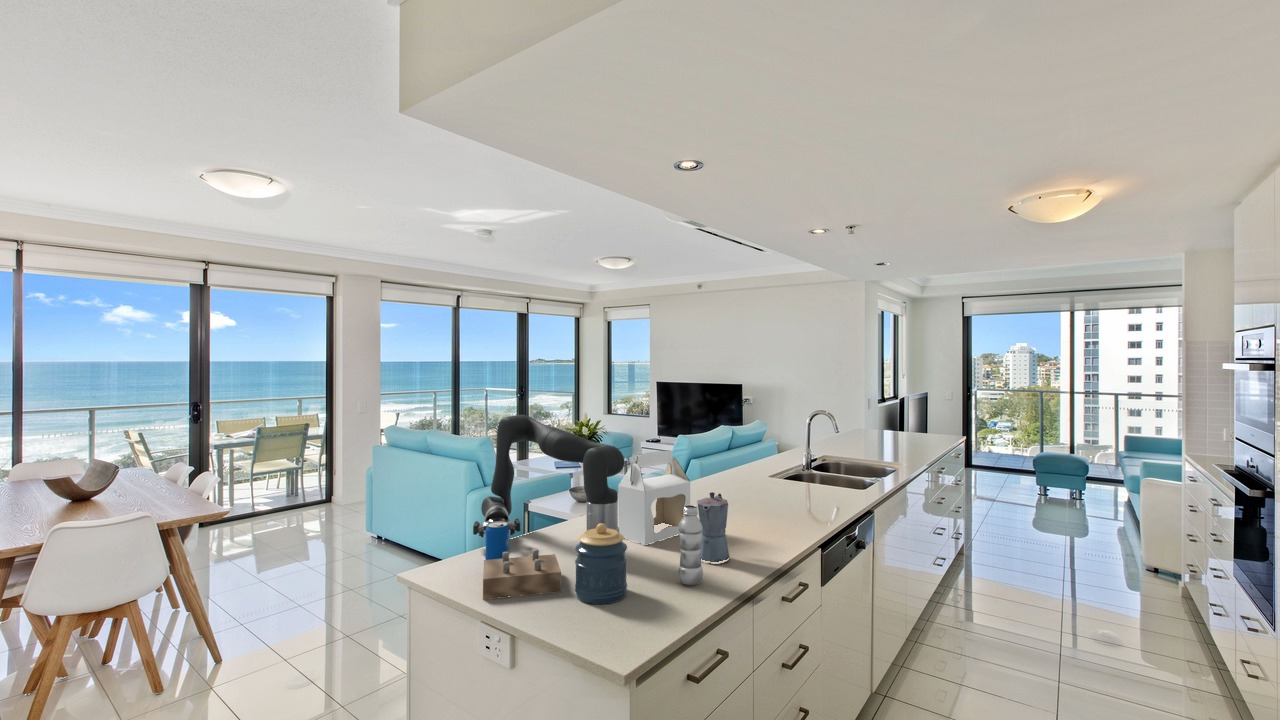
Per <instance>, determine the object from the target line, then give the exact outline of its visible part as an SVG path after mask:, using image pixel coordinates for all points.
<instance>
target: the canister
mask: <svg viewBox="0 0 1280 720" xmlns="http://www.w3.org/2000/svg"><path fill="white" fill-rule="evenodd" d="M624 540H625V539H624V536H623V535H622V534H620V533H618V531H616V530H614V529H609V528H606V525H605V524H603V523H599V524H598V525H597V526H596V529H590V530H587V529H586V530H585V531H584V533H582V534H580V535H579V536H578V541H579V543H577V544H576V545H575V548H574V549H575V551H576V553H577V554H576V558H575V560H574V562H575V585H574V591H575V596H576V598H577V599H578V600H579V601H582V602H583V603H587V604H593V605H594V604H595V605H605V604H606V605H607V604H612V603H616V602H619V601H621V600H622V599H624V598H625V597H626V595H627V590H628V583H627V562H628V558H627V557H626V551H627V550H628V546H627V544H626V543H625V542H624Z"/></svg>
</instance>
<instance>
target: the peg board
mask: <svg viewBox="0 0 1280 720" xmlns="http://www.w3.org/2000/svg"><path fill="white" fill-rule="evenodd" d="M539 551H540V549H532V555H529V556H518V557H517V556H515V557H510V551H509V552H503V559H491V560H485V559H483V573H482V574H483V575H482V600H483V599H485V600H491V599H490V598H495V599H499V598H498V597H505V598H509V597H508V596H515V597H521V596H520V595H525V596H534V595H533V594H535V595H541V594H540V593H545V594H552V593H553V592H555V593H561V592H562V571H561V568H560V564H559V561H558V558H557V556H556V554H554V553H553V554H541V555H539V553H540V552H539Z"/></svg>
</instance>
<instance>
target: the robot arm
mask: <svg viewBox="0 0 1280 720" xmlns="http://www.w3.org/2000/svg"><path fill="white" fill-rule="evenodd" d="M521 442H531V443H535V444H537V445H538V447H539V450H540V451H541V453H543V454H545V455H547V456H548V457H550V458H553V459H556V460H557V461H563V462H569V463H581V464H582V476H583V489H584V493H585V496H586V531H587V530H590V529H596V526H597V525H598V524H599V523H603V524H605V525H606V528H609V529H614V530H616V531H618V533H619V527H618V491H617V490H616V489H614V488H610V487H609V484H608V478H609V477H614V476H616V475H618V474H619V473H621V472H622V470H623V469H624V467H625V462H626V461H625V456H624V455H623V453H622V452H621V450H620V449H619V448H617V447H616V446H614V445H610V444H605V443H600V442H596V441H592V440H589V439H586V438H584V437H582V436H579V435H577V434H574V433H571V432H568V431H566V430H563V429H560V428H556V427H554V426H552V425H548V424H544V423H542V422H540V421H538V420H536V419H534V418H533V417H531V416H530V415H529V416H528V415H525V414H517V415H509V416H505V417H502V418H501V419H500V421H499V422H498V425H497V431H496V445H495V446H496V449H495V467H494V472H493V476H492V480H491V481H492V482H491V487H490V491H491V493H492V494H493V495H494V496H491V495H490V496H486V497H485V498H484V499H483V501H482V503H481V505H480V506H481V508H480V509H481V514H482V515H483V517H484V522H483V523H480V522H479V521H478V520H476V521H474V524H473V527H472V535H475V536H476V535H478V537H481V538H485V537H484V536H485V535H486V527H487V524H488V523H491V522H497V521H502V522H507V525H508V527H509V536H513V535H515V533H516V532H518V533H519V532H521V521H520V519H519V518H515V519H514V520H513V521H512V520H510V519H509V518H510V517H509V516H510V515H511V513H512V509H513V508H512V496H511V495H512V487H513V483H514V479H515V467H514V464H513V462H512V460H511V456H510V450H511V448H512V445H513V444H514V443H515V444H516V443H521Z"/></svg>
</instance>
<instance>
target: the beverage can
mask: <svg viewBox="0 0 1280 720" xmlns="http://www.w3.org/2000/svg"><path fill="white" fill-rule="evenodd" d="M503 552H509V553H510V532H509V527H508V525H507V522H502V521H497V522H491V523H488V524H487V527H486V534H485V553H484V555H485V556H484V557H485V558H484V560H491V559H503Z"/></svg>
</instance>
